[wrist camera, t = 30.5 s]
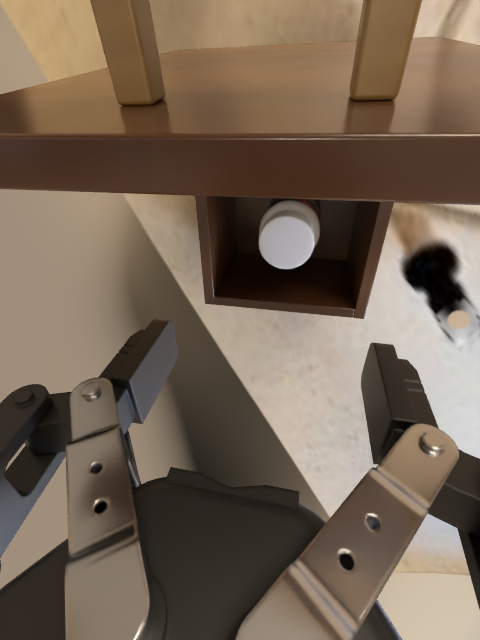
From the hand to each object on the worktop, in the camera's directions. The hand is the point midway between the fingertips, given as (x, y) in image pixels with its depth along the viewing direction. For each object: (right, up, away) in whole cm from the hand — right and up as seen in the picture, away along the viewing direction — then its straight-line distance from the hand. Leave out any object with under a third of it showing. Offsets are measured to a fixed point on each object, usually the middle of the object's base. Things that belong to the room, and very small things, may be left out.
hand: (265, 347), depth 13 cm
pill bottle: (+4, +11, +16) cm, 20 cm away
